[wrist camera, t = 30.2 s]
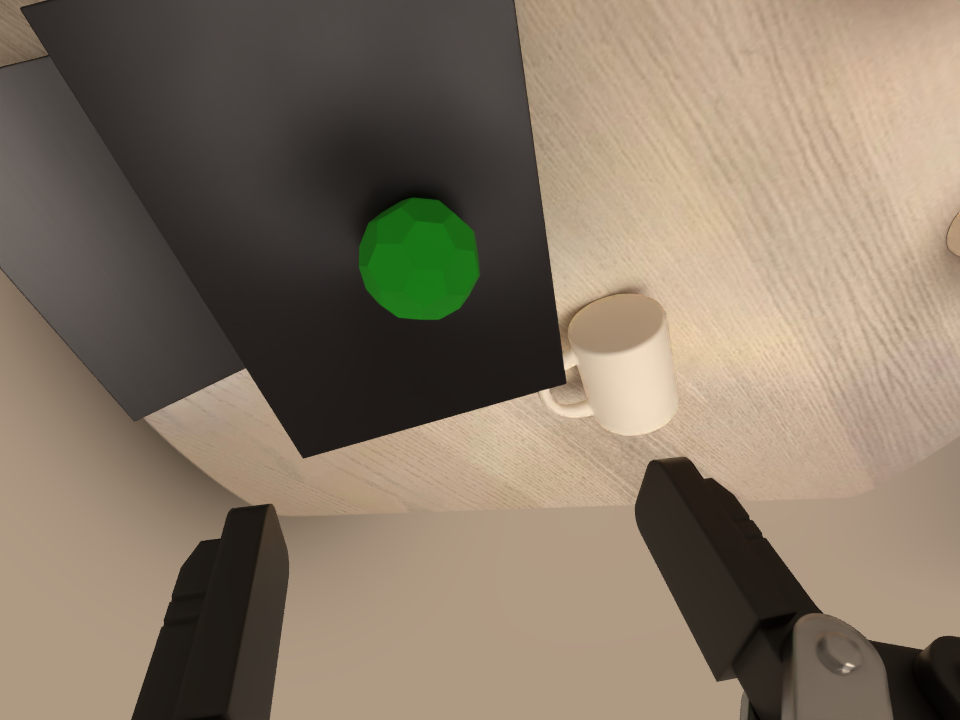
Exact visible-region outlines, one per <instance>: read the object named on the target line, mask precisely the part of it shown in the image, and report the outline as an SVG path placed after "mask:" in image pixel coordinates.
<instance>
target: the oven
mask: <svg viewBox="0 0 960 720" xmlns="http://www.w3.org/2000/svg"><path fill="white" fill-rule="evenodd" d="M20 10H21V11H22V13H23V15H24V16H25V18H26V19H27V21H28V22H29V24H30V26H31V27H32V29H33V30H34V32H35V34H36V35H37V37H38V38H39V40H40V42H41V43H42V45H43V46H44V48H45V49H46V51H47V53H48V54H49V56H50V57H51V59H52V61H53V62H54V64H55V65H56V67H57V69H58V70H59V72H60V73H61V75H62V76H63V78H64V80H65V81H66V83H67V84H68V86H69V88H70V89H71V91H72V92H73V94H74V96H75V97H76V99H77V100H78V102H79V103H80V105H81V107H82V108H83V110H84V111H85V113H86V115H87V116H88V118H89V119H90V121H91V123H92V124H93V126H94V127H95V129H96V130H97V132H98V134H99V135H100V137H101V138H102V140H103V142H104V143H105V145H106V146H107V148H108V150H109V151H110V153H111V154H112V156H113V157H114V159H115V161H116V162H117V164H118V165H119V167H120V169H121V170H122V172H123V173H124V175H125V177H126V178H127V180H128V181H129V183H130V184H131V186H132V188H133V189H134V191H135V192H136V194H137V196H138V197H139V199H140V200H141V202H142V204H143V205H144V207H145V208H146V210H147V211H148V213H149V215H150V216H151V218H152V219H153V221H154V223H155V224H156V226H157V227H158V229H159V231H160V232H161V234H162V235H163V237H164V238H165V240H166V242H167V243H168V245H169V246H170V248H171V250H172V251H173V253H174V254H175V256H176V258H177V259H178V261H179V262H180V264H181V265H182V267H183V269H184V270H185V272H186V273H187V275H188V277H189V278H190V280H191V281H192V283H193V285H194V286H195V288H196V289H197V291H198V292H199V294H200V296H201V297H202V299H203V300H204V302H205V304H206V305H207V307H208V308H209V310H210V312H211V313H212V315H213V316H214V318H215V319H216V321H217V323H218V324H219V326H220V327H221V329H222V331H223V332H224V334H225V335H226V337H227V339H228V340H229V342H230V343H231V345H232V346H233V348H234V350H235V351H236V353H237V354H238V356H239V358H240V359H241V361H242V362H243V364H244V366H245V367H246V369H247V370H248V372H249V373H250V375H251V377H252V378H253V380H254V381H255V383H256V385H257V386H258V388H259V389H260V391H261V393H262V394H263V396H264V397H265V399H266V400H267V402H268V404H269V405H270V407H271V408H272V410H273V412H274V413H275V415H276V416H277V418H278V420H279V421H280V423H281V424H282V426H283V427H284V429H285V431H286V432H287V434H288V435H289V437H290V439H291V440H292V442H293V443H294V445H295V447H296V448H297V450H298V451H299V453H300V454H301V456H302V458H307V457H311V456H314V455H318V454H321V453H325V452H328V451H332V450H335V449H339V448H342V447H346V446H349V445H353V444H356V443H360V442H363V441H367V440H370V439H374V438H377V437H381V436H385V435H388V434H392V433H395V432H399V431H402V430H406V429H409V428H413V427H416V426H420V425H423V424H427V423H430V422H434V421H437V420H441V419H444V418H448V417H451V416H455V415H458V414H462V413H465V412H469V411H472V410H476V409H479V408H483V407H486V406H490V405H493V404H497V403H501V402H504V401H508V400H511V399H515V398H518V397H522V396H525V395H529V394H532V393H536V392H539V391H543V390H546V389H550V388H553V387H557V386H560V385H564V384H566V376H565V369H564V361H563V354H562V347H561V339H560V332H559V325H558V317H557V310H556V303H555V295H554V288H553V281H552V273H551V266H550V259H549V251H548V244H547V237H546V229H545V222H544V215H543V207H542V200H541V193H540V186H539V178H538V171H537V164H536V156H535V149H534V142H533V134H532V127H531V120H530V112H529V105H528V98H527V90H526V83H525V76H524V68H523V61H522V54H521V46H520V39H519V32H518V25H517V17H516V10H515V3H514V0H46V1H42V2H39V3H35V4H31V5H27V6H23V7H21V8H20ZM409 198H422V199H431V200H439V201H440V202H442V203H443V204H444V205H445V206H446V207H447V208H449V209H450V210H451V211H452V212H453V213H454V214H456V215H457V216H458V217H459V218H460V219H461V220H462V221H463V222H464V223H465V224H467V225H468V226H469V227H470V228H471V229H472V230H473V231H474V233H475V239H476V245H477V251H478V258H479V270H480V276H479V278H478V280H477V282H476V283H475V285H474V287H473V289H472V291H471V293H470V295H469V296H468V298H467V299H466V300H465V302H464V303H463V305H462V306H461V307H460V309H458V310H456V311H454V312H452V313H450V314H448V315H447V316H445V317H443V318H441V319H439V320H420V319H408V318H398V317H397V316H395V315H394V314H393V313H391V312H390V311H388V310H387V309H386V308H384V307H383V306H381V305H380V304H379V303H378V302H377V301H376V300H375V299H374V298H373V296H372V295H371V294H370V293H369V292H368V291H367V290H366V287H365V284H364V281H363V278H362V275H361V272H360V269H359V246H360V243H361V241H362V238H363V236H364V233H365V231H366V228H367V226H368V223H369V222H370V221H372V220H373V219H374V218H375V217H377V216H378V215H379V214H380V213H382V212H384V211H385V210H387V209H389V208H390V207H392V206H394V205H396V204H397V203H399V202H401V201H403V200H406V199H409Z"/></svg>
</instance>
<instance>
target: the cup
mask: <svg viewBox="0 0 960 720" xmlns="http://www.w3.org/2000/svg"><path fill="white" fill-rule="evenodd" d="M947 246H948V248H949V250H950V251H952V252H953V253H954V254H956V255H958V256H959V257H960V212H959V213H958V215H957V216H956V217H955V219H954V221H953V223H952V224H951V226H950V228H949V231H948V235H947Z"/></svg>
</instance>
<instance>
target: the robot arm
mask: <svg viewBox="0 0 960 720" xmlns="http://www.w3.org/2000/svg"><path fill="white" fill-rule="evenodd" d="M635 517H636V522H637V526H638V529H639V531H640V533H641V535H642V537H643V539H644V541H645V543H646V545H647V547H648V549H649V550H650V553H651V555H652V557H653V558H654V560H655V562H656V564H657V566H658V568H659V570H660V572H661V574H662V576H663V578H664V580H665V582H666V584H667V586H668V587H669V590H670V592H671V593H672V595H673V597H674V599H675V601H676V603H677V605H678V607H679V609H680V611H681V613H682V615H683V617H684V619H685V621H686V623H687V624H688V626H689V628H690V630H691V632H692V634H693V636H694V638H695V640H696V642H697V644H698V646H699V648H700V650H701V652H702V654H703V656H704V658H705V660H706V662H707V663H708V665H709V667H710V669H711V671H712V673H713V675H714V677H715V679H716V681H717V682H719V681H724V680H729V679H734V678H738V680H739V682H740V684H741V685H742V687H743V689H744V692H743V695H742V699H741V709H740V720H960V637H954V636H943V637H939V638H937V639H936V640H934V641H933V642H932V643H931V644H930V645H929V646H928V647H927V648H926V649H924V650H921V649H915V648H910V647H904V646H898V645H893V644H887V643H881V642H876V641H871V640H867V639H866V637H864V636H863V635H862V634H861V633H860V632H859V631H857V630H856V629H855V628H854V627H852V626H851V625H849V624H847V623H846V622H844V621H842V620H840V619H838V618H836V617H833V616H830V615H826V614H823V613H822V611H821V610H819V608H818V607H817V606H816V605H815V604H814V602H813V601H812V600H811V599H810V597H809V596H808V594H807V593H806V592H805V590H804V589H803V588H802V586H801V585H800V583H799V582H798V581H797V579H796V578H795V577H794V575H793V574H792V573H791V572H790V570H789V569H788V567H787V566H786V565H785V563H784V562H783V561H782V559H781V558H780V557H779V555H778V554H777V553H776V551H775V550H774V548H773V547H772V546H771V544H770V543H769V542H768V540H767V539H766V538H763V536H762V532H761V531H760V530H759V528H758V527H757V526H756V524H755V523H754V522H753V521H752V520H750V519H749V515H748V514H747V512H746V511H745V509H744V508H743V507H742V505H741V504H740V503H739V501H738V500H737V499H736V497H735V496H734V495H733V494H732V493H731V492H729V491H728V490H727V489H725V488H724V487H723V486H722V485H720V484H719V483H718V482H717V481H715V480H714V479H713V478H707V479H704V478H703V477H702V476H701V474H700V473H699V471H698V470H697V468H696V467H695V466H694V464H693V463H692V462H691V461H690V460H689V459H688V458H686V457H676V458H667V459H659V460H652V461H651V462H649V464H648V466H647V469H646V472H645V475H644V479H643V482H642V485H641V488H640V491H639V494H638V497H637V500H636V504H635ZM288 578H289V559H288V550H287V546H286V543H285V540H284V537H283V534H282V530H281V527H280V524H279V520H278V517H277V514H276V511H275V508H274V506H273V504H265V505H256V506H248V507H239V508H232V509H231V510H230V511H229V512H228V515H227V518H226V521H225V525H224V528H223V532H222V536H221V539H213V540H205V541H201V542H200V543H199V544H198V546H197V547H196V548H195V550H194V551H193V552H192V554H191V555H190V556H189V558H188V559H187V560H186V562H185V563H184V564H183V566H182V567H181V569H180V572H179V575H178V579H177V581H176V585H175V587H174V590H173V593H172V601H171V602H170V603H169V606H168V609H167V612H166V615H165V618H164V626H163V627H161V630H160V633H159V636H158V639H157V642H156V646H155V649H154V652H153V655H152V658H151V661H150V664H149V667H148V670H147V673H146V676H145V679H144V683H143V685H142V688H141V692H140V695H139V697H138V700H137V704H136V707H135V710H134V713H133V716H132V719H131V720H270V712H271V705H272V697H273V690H274V682H275V675H276V668H277V660H278V653H279V645H280V638H281V630H282V623H283V616H284V608H285V601H286V594H287V585H288Z"/></svg>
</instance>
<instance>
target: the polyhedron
mask: <svg viewBox="0 0 960 720" xmlns="http://www.w3.org/2000/svg"><path fill="white" fill-rule="evenodd" d="M359 269H360V272H361V275H362V278H363V281H364V284H365V287H366V290H367V291H368V292H369V293H370V294H371V295H372V296H373V298H374V299H375V300H376V301H377V302H378V303H379V304H380V305H381V306H383V307H384V308H386V309H387V310H388V311H390V312H391V313H393V314H394V315H395V316H397V317H398V318H408V319H420V320H439V319H441V318H443V317H445V316H447V315H448V314H450V313H452V312H454V311H456V310H458V309H460V307H461V306H462V305H463V303H464V302H465V300H466V299H467V298H468V296H469V295H470V293H471V291H472V289H473V287H474V285H475V283H476V282H477V280H478V278H479V276H480V270H479V258H478V251H477V245H476V239H475V233H474V231H473V230H472V229H471V228H470V227H469V226H468V225H467V224H465V223H464V222H463V221H462V220H461V219H460V218H459V217H458V216H457V215H456V214H454V213H453V212H452V211H451V210H450V209H449V208H447V207H446V206H445V205H444V204H443V203H442V202H440V201H439V200H431V199H422V198H409V199H406V200H403V201H401V202H399V203H397V204H396V205H394V206H392V207H390V208H389V209H387V210H385V211H384V212H382V213H380V214H379V215H378V216H377V217H375V218H374V219H373V220H372V221H370V222H369V223H368V226H367V228H366V231H365V233H364V236H363V238H362V241H361V243H360V246H359Z"/></svg>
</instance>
